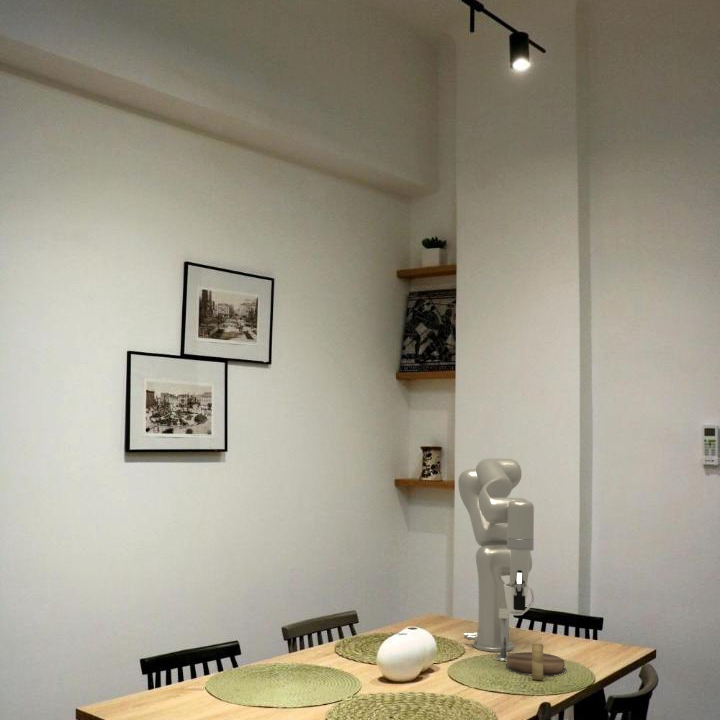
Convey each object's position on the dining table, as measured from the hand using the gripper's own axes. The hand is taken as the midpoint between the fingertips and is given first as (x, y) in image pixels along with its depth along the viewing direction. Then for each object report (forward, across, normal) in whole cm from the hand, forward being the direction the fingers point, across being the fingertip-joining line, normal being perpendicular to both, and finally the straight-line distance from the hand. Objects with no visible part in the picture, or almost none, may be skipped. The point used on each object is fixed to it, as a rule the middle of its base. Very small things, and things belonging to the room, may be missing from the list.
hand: (519, 606), depth 244 cm
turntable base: (+17, -2, +4) cm, 18 cm away
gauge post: (+18, -9, -5) cm, 21 cm away
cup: (+2, -1, 0) cm, 2 cm away
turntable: (+17, +1, +5) cm, 17 cm away
